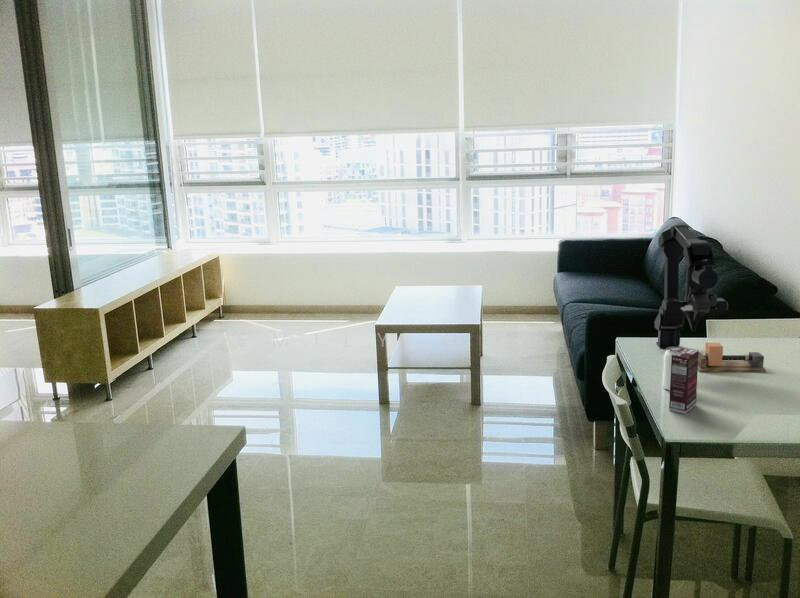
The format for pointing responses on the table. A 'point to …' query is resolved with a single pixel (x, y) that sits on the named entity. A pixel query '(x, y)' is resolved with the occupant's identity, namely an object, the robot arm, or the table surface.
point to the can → (668, 366)
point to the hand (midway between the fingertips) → (693, 330)
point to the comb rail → (734, 363)
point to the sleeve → (714, 354)
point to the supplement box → (683, 380)
